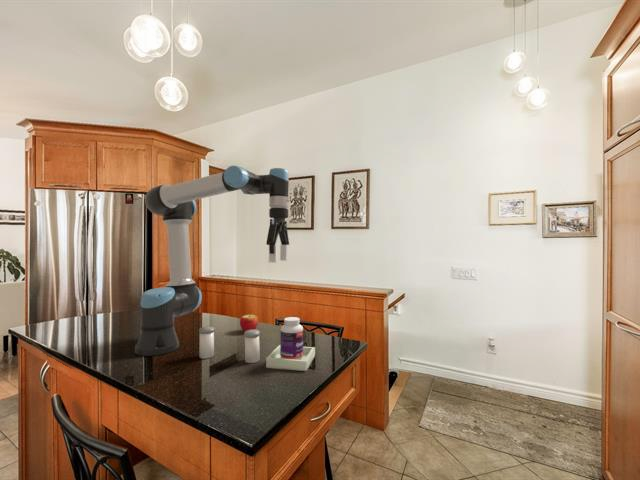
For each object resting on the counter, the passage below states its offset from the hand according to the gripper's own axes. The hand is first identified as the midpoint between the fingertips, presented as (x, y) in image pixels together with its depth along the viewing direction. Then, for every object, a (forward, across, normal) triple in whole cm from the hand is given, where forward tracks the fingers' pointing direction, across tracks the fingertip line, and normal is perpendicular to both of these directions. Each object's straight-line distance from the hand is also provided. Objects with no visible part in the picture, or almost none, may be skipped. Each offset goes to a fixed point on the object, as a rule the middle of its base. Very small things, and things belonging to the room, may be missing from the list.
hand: (278, 261), depth 122 cm
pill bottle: (+34, -11, -9) cm, 37 cm away
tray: (+35, -11, -9) cm, 37 cm away
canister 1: (+35, -13, +23) cm, 44 cm away
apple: (+35, +20, +21) cm, 45 cm away
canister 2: (+35, -13, +5) cm, 37 cm away
